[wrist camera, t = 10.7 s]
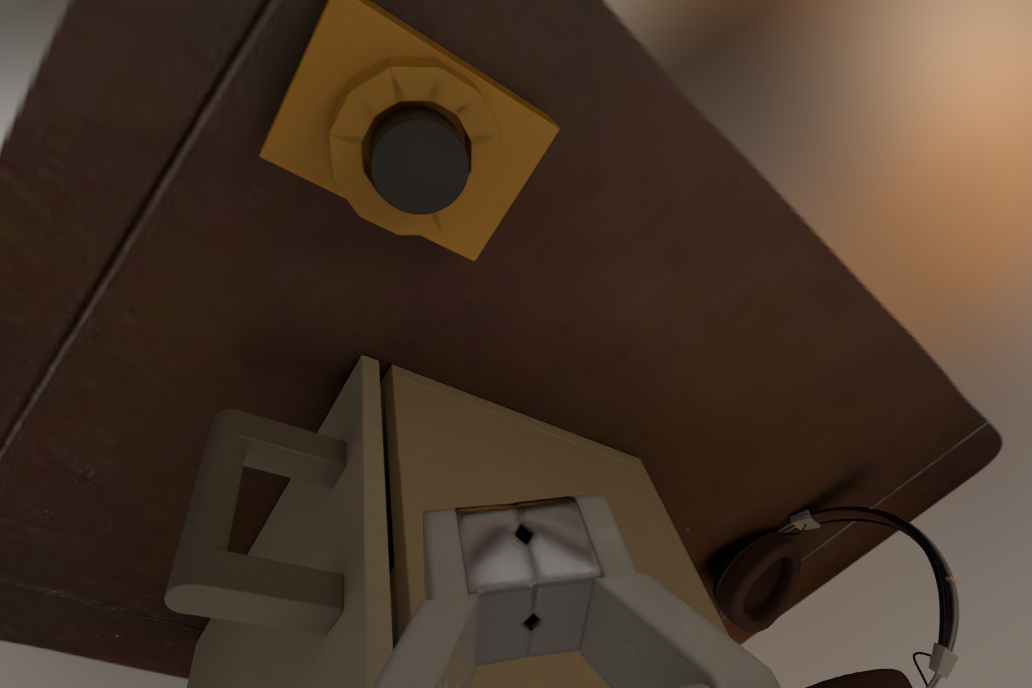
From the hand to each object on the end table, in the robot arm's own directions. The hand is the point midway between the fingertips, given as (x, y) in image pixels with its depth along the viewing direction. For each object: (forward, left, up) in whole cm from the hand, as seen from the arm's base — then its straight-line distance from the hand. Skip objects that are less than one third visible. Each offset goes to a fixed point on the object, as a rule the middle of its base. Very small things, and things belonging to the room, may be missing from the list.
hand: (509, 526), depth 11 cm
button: (0, 0, -18) cm, 18 cm away
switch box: (0, 0, -22) cm, 22 cm away
